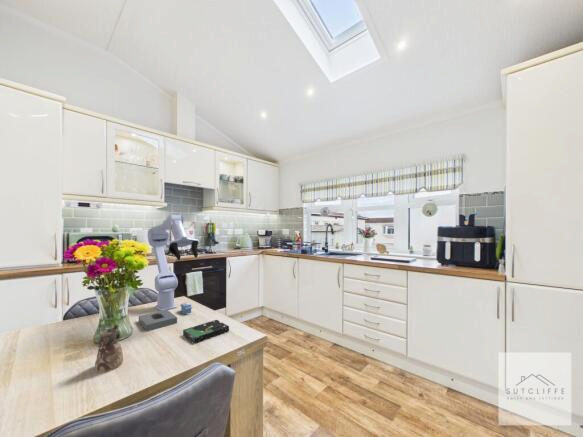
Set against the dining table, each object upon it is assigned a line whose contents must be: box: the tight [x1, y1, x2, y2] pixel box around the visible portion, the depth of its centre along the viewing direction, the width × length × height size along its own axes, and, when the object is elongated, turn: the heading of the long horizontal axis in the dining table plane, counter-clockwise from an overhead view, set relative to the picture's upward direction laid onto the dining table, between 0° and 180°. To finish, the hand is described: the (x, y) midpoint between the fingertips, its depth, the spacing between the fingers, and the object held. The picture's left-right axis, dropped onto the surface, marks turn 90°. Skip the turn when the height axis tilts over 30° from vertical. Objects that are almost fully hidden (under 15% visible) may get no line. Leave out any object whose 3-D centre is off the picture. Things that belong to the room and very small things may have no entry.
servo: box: [179, 302, 193, 315], centre depth 125 cm, size 8×3×5 cm, turn 43°
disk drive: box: [182, 319, 230, 345], centre depth 101 cm, size 10×3×15 cm
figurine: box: [94, 324, 124, 374], centre depth 79 cm, size 7×7×12 cm
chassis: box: [138, 309, 178, 332], centre depth 113 cm, size 14×12×2 cm
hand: (188, 257), depth 113 cm, fingers open, 7 cm apart
